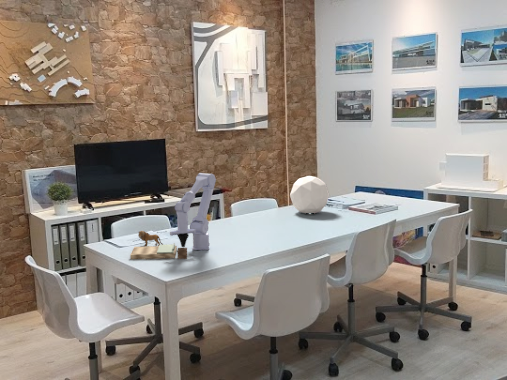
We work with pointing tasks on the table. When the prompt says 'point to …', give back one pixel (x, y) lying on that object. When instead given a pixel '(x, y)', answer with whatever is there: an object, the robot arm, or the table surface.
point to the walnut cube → (182, 253)
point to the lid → (166, 248)
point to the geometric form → (309, 194)
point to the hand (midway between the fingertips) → (183, 246)
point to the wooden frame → (150, 253)
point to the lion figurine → (149, 237)
